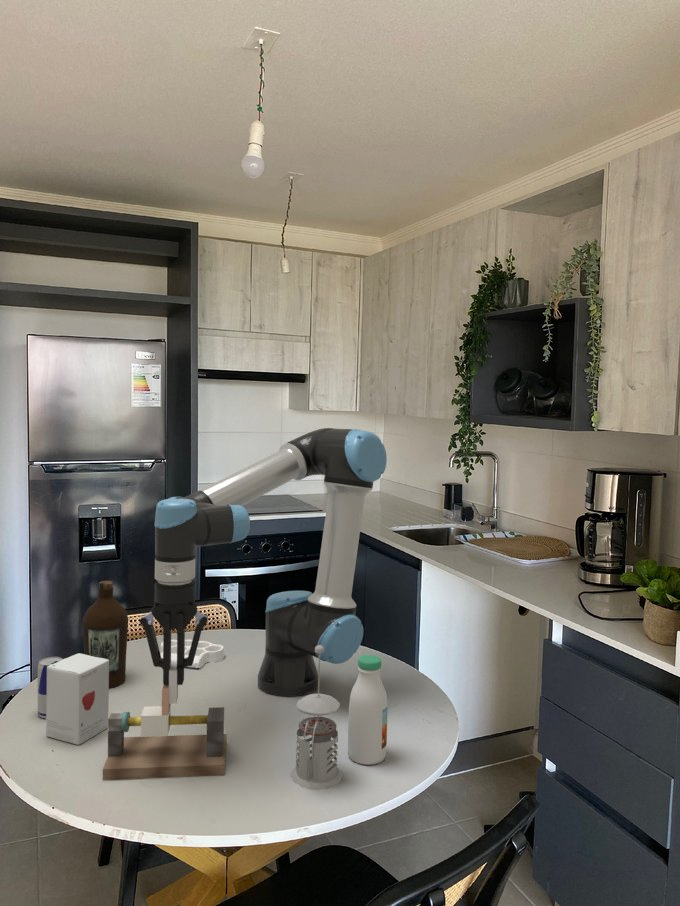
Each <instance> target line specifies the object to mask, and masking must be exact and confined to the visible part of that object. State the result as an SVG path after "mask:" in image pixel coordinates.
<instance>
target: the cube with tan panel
mask: <svg viewBox="0 0 680 906" xmlns="http://www.w3.org/2000/svg"><path fill="white" fill-rule="evenodd" d="M171 706H172V704H169V685H164V684H163V685H162V688H161V706H159V705H157V706H155V705H154V706H144V707H143V709H142V712H141V714H140V715H141V716H140V717H141V726H140V737H147V736H169V734H170V730H171V729H170V728H171V726H172V725H169V716H172V715H171V713H172V711H171V710H172V707H171Z"/></svg>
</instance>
